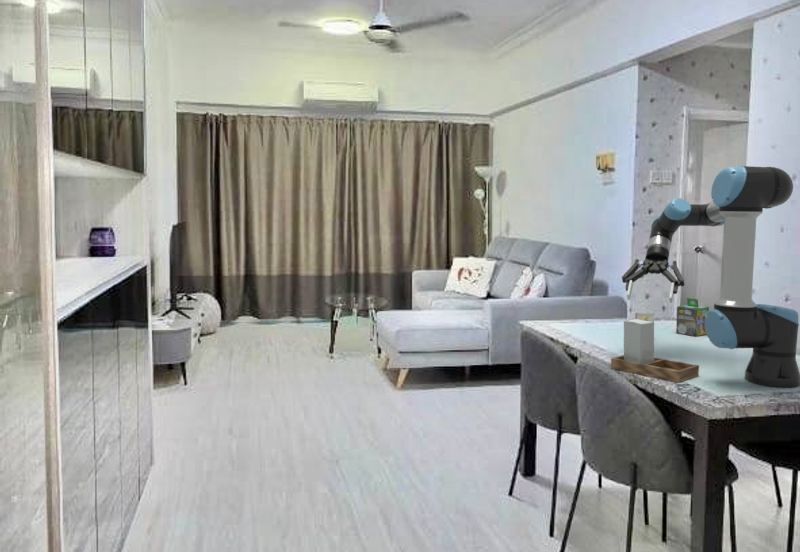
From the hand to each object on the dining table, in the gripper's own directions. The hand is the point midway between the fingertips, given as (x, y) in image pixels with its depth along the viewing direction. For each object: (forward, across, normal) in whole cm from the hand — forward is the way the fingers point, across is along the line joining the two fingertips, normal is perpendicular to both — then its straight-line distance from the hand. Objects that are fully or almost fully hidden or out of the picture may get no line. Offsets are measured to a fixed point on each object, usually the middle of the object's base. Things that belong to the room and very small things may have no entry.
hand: (649, 298), depth 238 cm
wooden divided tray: (+25, -4, -6) cm, 26 cm away
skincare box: (+23, +1, -6) cm, 24 cm away
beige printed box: (-15, +8, -45) cm, 48 cm away
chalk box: (-29, -8, -59) cm, 66 cm away
